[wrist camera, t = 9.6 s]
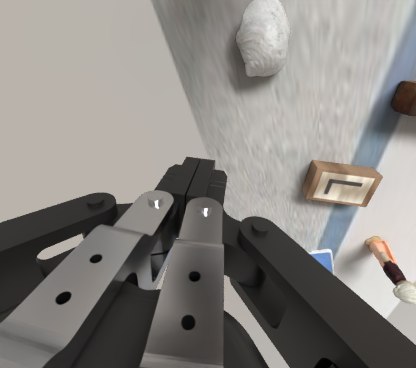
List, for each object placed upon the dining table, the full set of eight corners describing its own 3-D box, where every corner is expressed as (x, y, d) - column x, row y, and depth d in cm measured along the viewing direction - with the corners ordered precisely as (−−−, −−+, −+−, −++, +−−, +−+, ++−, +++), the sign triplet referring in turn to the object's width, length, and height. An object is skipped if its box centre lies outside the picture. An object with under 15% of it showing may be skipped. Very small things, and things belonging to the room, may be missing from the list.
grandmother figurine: (393, 249, 45) (440, 310, 34) (374, 257, 47) (413, 317, 36) (374, 226, 43) (417, 284, 32) (354, 235, 45) (389, 293, 34)
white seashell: (220, 40, 32) (216, 38, 27) (267, -13, 28) (271, -25, 24) (258, 88, 34) (260, 93, 30) (305, 44, 30) (315, 42, 26)
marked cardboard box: (317, 168, 35) (383, 177, 35) (312, 159, 39) (372, 167, 38) (306, 198, 39) (366, 207, 38) (301, 188, 42) (357, 196, 41)
